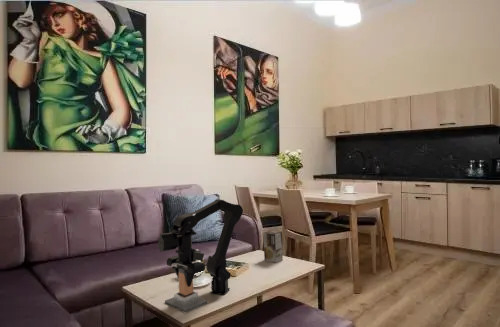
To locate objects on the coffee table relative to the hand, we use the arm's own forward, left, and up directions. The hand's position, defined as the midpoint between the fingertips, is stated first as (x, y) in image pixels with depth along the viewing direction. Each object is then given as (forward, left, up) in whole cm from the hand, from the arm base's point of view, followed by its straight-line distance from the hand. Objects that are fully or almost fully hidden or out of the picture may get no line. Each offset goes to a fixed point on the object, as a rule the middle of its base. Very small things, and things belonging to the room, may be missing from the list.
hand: (185, 285), depth 130 cm
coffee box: (-20, -63, -7) cm, 67 cm away
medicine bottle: (+13, -32, -7) cm, 35 cm away
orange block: (0, 0, -3) cm, 3 cm away
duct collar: (0, 0, -7) cm, 7 cm away
